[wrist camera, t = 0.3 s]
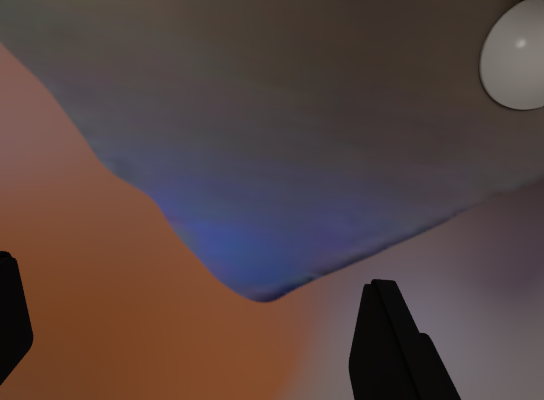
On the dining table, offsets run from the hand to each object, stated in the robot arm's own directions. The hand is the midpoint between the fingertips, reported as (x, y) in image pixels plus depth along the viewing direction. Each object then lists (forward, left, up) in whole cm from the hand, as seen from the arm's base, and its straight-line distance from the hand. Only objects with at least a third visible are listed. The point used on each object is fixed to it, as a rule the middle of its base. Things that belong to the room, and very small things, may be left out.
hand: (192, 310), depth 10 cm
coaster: (-7, +26, -31) cm, 40 cm away
